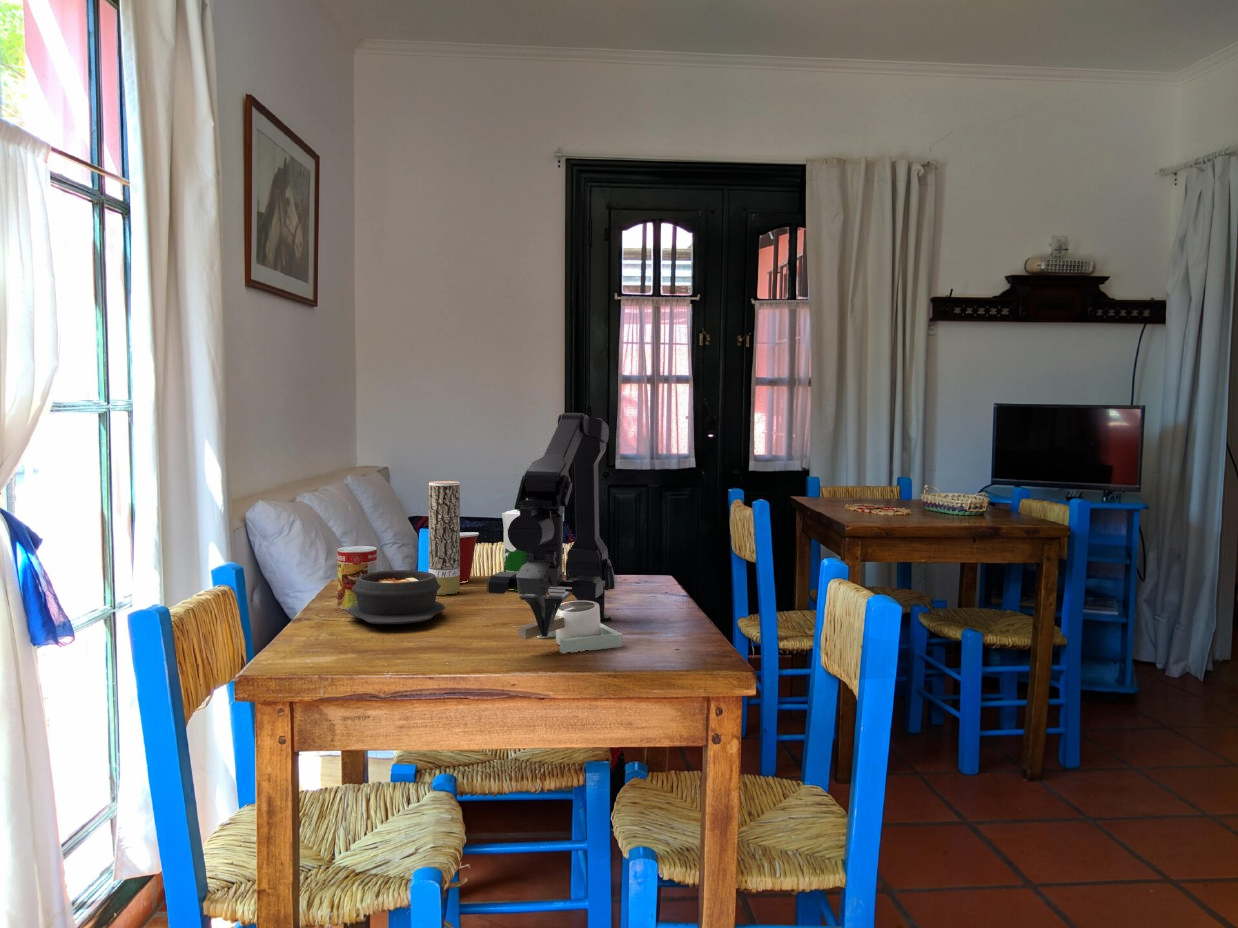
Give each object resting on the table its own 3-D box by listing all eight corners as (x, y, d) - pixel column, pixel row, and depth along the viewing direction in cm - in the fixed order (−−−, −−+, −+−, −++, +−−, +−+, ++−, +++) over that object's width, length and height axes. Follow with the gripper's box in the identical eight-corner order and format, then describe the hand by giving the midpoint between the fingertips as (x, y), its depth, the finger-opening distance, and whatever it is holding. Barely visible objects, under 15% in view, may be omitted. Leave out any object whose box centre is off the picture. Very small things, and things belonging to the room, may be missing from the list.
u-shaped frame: (536, 636, 161) (536, 624, 161) (593, 630, 166) (593, 619, 166) (562, 653, 150) (562, 640, 150) (622, 646, 155) (622, 634, 155)
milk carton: (547, 586, 210) (548, 501, 209) (533, 593, 201) (533, 505, 200) (513, 584, 212) (513, 500, 211) (497, 591, 203) (497, 503, 202)
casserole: (451, 630, 166) (451, 585, 166) (347, 636, 161) (346, 590, 160) (438, 603, 190) (438, 564, 190) (347, 607, 185) (347, 567, 184)
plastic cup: (458, 576, 222) (458, 528, 221) (488, 582, 215) (488, 532, 214) (423, 582, 213) (423, 532, 213) (453, 588, 206) (453, 536, 206)
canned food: (342, 601, 190) (341, 545, 189) (379, 601, 191) (379, 545, 190) (333, 609, 182) (333, 551, 182) (373, 609, 183) (373, 551, 182)
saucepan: (580, 631, 163) (578, 597, 163) (610, 639, 158) (608, 604, 157) (509, 655, 152) (506, 618, 151) (538, 664, 146) (536, 627, 146)
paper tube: (422, 592, 201) (422, 482, 199) (448, 589, 205) (448, 480, 204) (439, 597, 196) (439, 483, 194) (465, 593, 200) (465, 482, 199)
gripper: (474, 547, 142) (474, 644, 143) (587, 552, 138) (586, 651, 139) (499, 538, 153) (498, 628, 154) (604, 543, 149) (603, 635, 150)
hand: (544, 636), depth 149 cm, fingers closed
